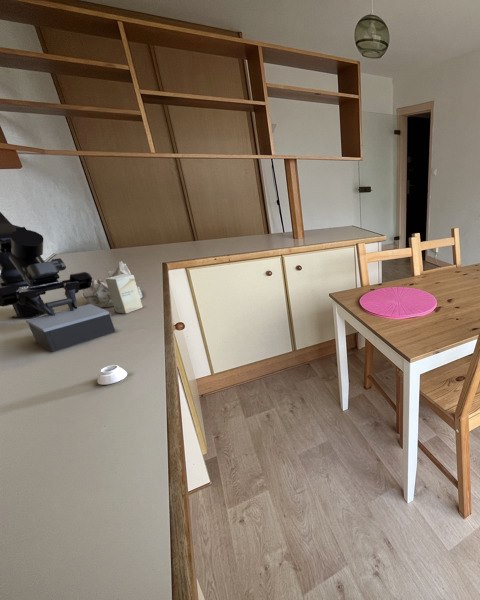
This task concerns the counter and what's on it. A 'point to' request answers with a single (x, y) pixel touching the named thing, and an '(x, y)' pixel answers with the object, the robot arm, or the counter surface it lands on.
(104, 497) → the counter surface
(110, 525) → the counter surface
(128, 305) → the cosmetic box
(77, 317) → the bread lid
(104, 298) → the beige crumpled lump
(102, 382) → the upturned white bowl
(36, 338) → the sloped grey box
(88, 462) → the counter surface
